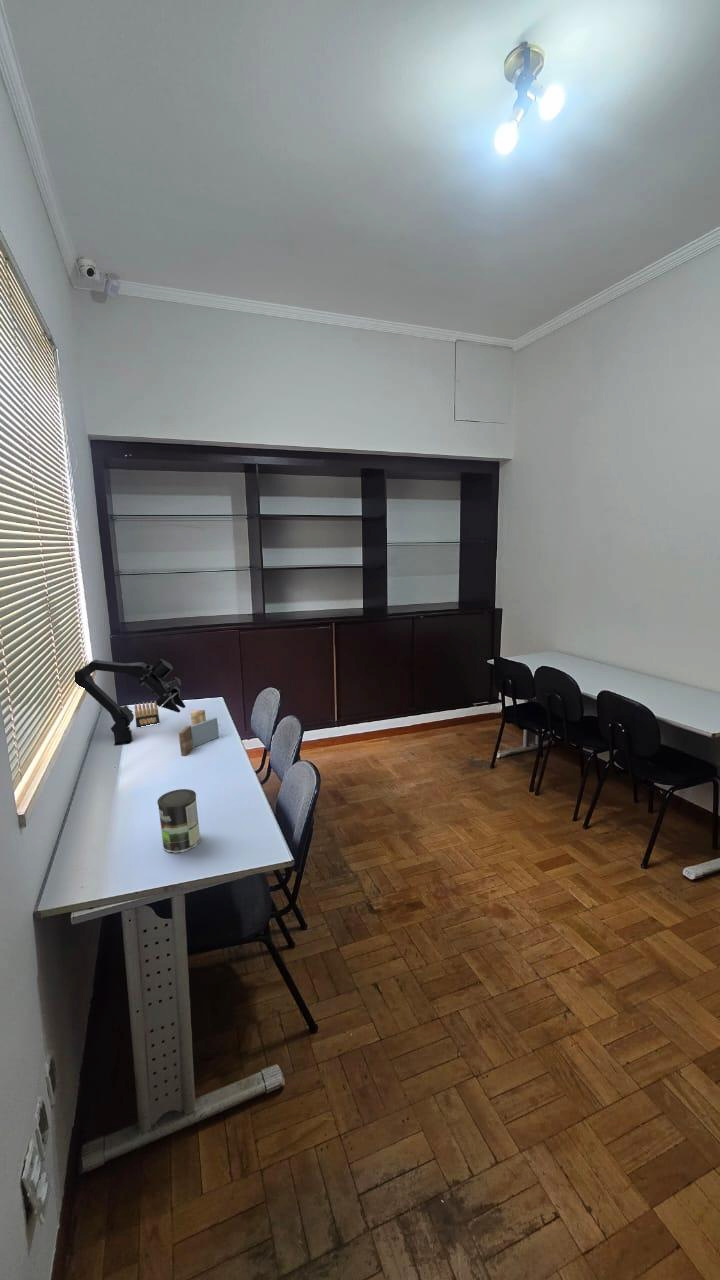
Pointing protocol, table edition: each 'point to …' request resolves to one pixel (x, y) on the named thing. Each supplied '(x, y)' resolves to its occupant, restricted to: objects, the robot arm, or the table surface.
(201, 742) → the door
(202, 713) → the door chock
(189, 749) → the partition wall
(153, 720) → the ammunition clip
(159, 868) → the table surface
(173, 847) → the coffee can
